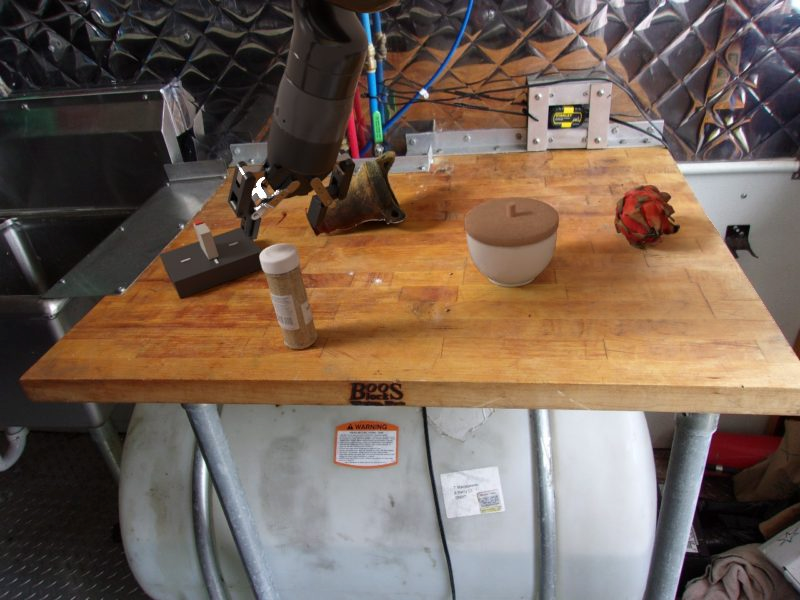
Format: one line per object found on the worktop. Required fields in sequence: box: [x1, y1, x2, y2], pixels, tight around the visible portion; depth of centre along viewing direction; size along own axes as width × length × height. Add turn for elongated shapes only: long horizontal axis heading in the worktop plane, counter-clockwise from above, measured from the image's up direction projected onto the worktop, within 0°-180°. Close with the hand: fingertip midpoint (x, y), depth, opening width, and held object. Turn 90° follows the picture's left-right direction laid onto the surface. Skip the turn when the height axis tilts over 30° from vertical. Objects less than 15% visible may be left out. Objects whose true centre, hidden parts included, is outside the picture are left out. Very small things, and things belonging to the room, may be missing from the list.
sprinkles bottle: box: [259, 242, 318, 350], centre depth 73 cm, size 5×5×14 cm
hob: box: [159, 226, 263, 299], centre depth 94 cm, size 14×11×3 cm
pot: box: [304, 150, 408, 237], centre depth 102 cm, size 17×11×18 cm
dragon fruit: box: [613, 184, 681, 250], centre depth 87 cm, size 8×8×12 cm
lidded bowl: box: [464, 196, 560, 288], centre depth 81 cm, size 13×13×11 cm
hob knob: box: [192, 219, 219, 260], centre depth 92 cm, size 5×2×5 cm, turn 30°
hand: (282, 228), depth 71 cm, fingers open, 8 cm apart
